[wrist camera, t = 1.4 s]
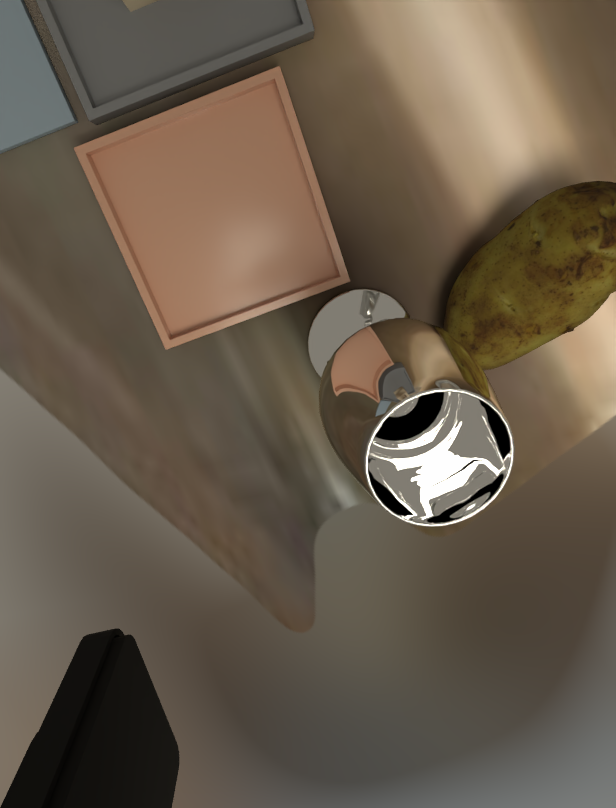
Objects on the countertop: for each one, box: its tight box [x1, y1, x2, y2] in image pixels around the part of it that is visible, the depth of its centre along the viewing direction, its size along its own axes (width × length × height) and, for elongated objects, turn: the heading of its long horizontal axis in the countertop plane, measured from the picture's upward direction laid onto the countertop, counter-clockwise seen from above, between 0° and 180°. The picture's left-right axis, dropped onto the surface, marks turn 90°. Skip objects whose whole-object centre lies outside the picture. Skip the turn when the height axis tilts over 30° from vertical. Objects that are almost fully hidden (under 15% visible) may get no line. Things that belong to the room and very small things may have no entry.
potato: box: [443, 181, 616, 370], centre depth 34 cm, size 8×13×8 cm, turn 122°
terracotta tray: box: [74, 66, 350, 349], centre depth 35 cm, size 13×13×2 cm
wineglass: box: [308, 288, 515, 527], centre depth 29 cm, size 8×8×20 cm
